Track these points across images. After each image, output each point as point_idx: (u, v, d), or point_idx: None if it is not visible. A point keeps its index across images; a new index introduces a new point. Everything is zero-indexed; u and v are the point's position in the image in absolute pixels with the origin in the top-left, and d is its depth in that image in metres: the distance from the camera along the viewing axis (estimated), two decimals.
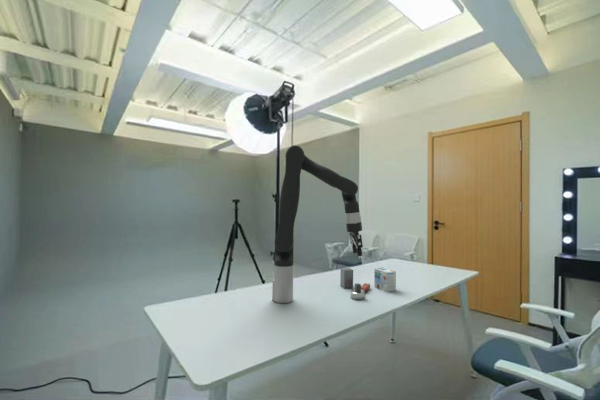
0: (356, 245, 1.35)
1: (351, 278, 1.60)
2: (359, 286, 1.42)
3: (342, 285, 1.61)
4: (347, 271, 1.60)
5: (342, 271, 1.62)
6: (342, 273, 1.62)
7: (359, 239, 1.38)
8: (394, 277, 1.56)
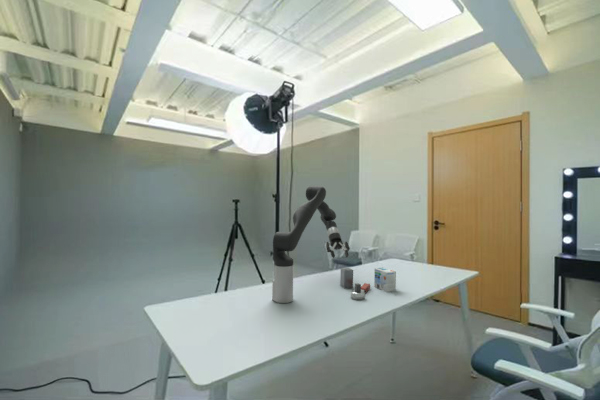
0: (346, 248, 1.76)
1: (351, 278, 1.60)
2: (359, 286, 1.42)
3: (342, 285, 1.61)
4: (347, 271, 1.60)
5: (342, 271, 1.62)
6: (342, 273, 1.62)
7: None
8: (394, 277, 1.56)
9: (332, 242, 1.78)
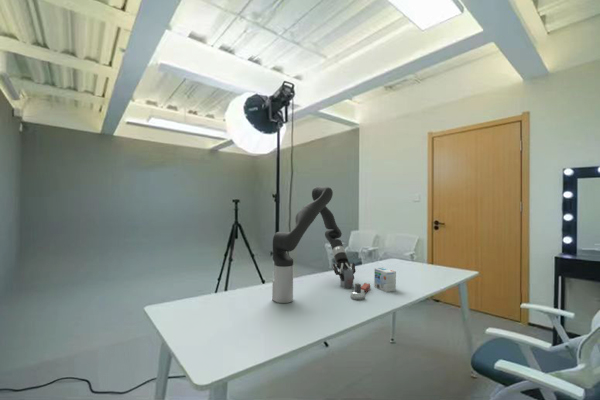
0: None
1: (351, 278, 1.60)
2: (359, 286, 1.42)
3: (342, 285, 1.61)
4: (347, 271, 1.60)
5: (342, 271, 1.62)
6: (342, 273, 1.62)
7: None
8: (394, 277, 1.56)
9: (338, 263, 1.67)
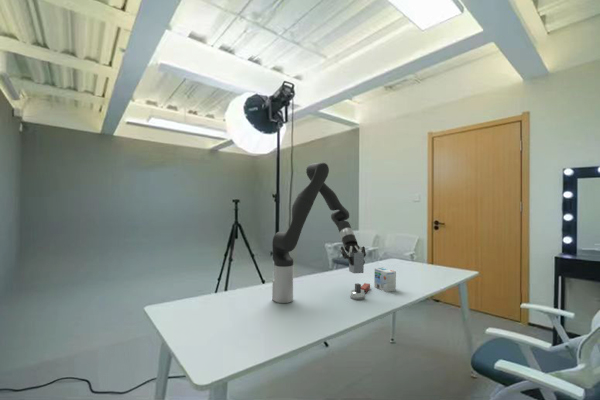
0: None
1: (361, 262, 1.43)
2: (359, 286, 1.42)
3: (352, 270, 1.44)
4: (357, 254, 1.43)
5: (351, 254, 1.45)
6: (351, 256, 1.45)
7: None
8: (394, 277, 1.56)
9: (346, 246, 1.50)
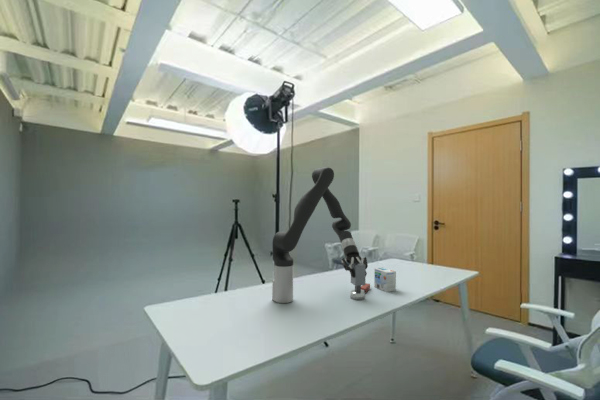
0: None
1: (363, 274, 1.41)
2: (359, 286, 1.42)
3: (353, 282, 1.42)
4: (359, 266, 1.40)
5: (353, 266, 1.43)
6: (353, 268, 1.43)
7: None
8: (394, 277, 1.56)
9: (348, 257, 1.47)
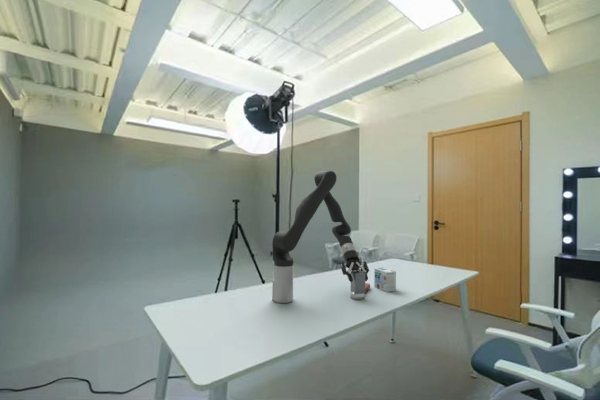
0: (365, 269, 1.46)
1: (363, 282, 1.41)
2: None
3: (353, 291, 1.42)
4: (358, 274, 1.40)
5: (353, 274, 1.42)
6: (353, 277, 1.42)
7: None
8: (394, 277, 1.56)
9: (348, 262, 1.47)
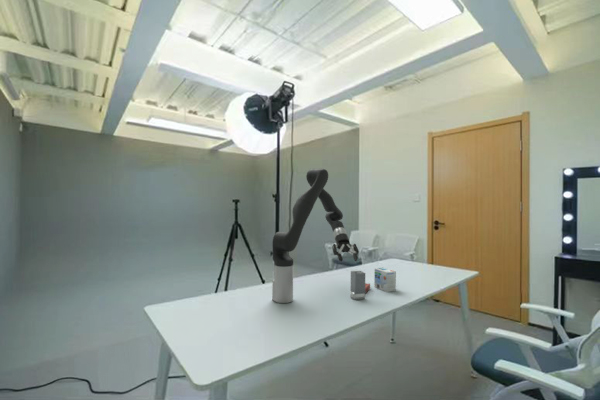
0: (355, 251, 1.58)
1: (363, 282, 1.41)
2: None
3: (353, 291, 1.42)
4: (358, 274, 1.40)
5: (353, 274, 1.42)
6: (353, 277, 1.42)
7: None
8: (394, 277, 1.56)
9: (339, 244, 1.59)
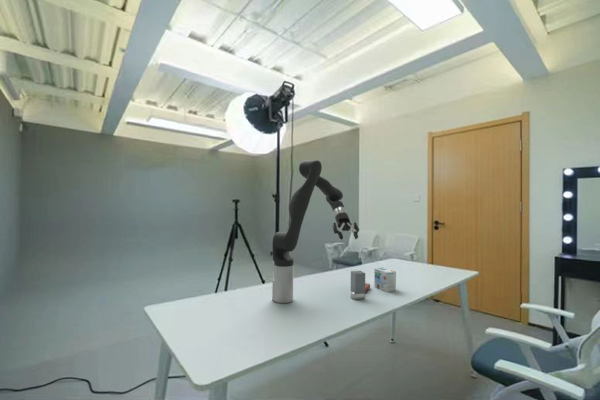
0: (355, 229, 1.58)
1: (363, 282, 1.41)
2: None
3: (353, 291, 1.42)
4: (358, 274, 1.40)
5: (353, 274, 1.42)
6: (353, 277, 1.42)
7: None
8: (394, 277, 1.56)
9: (339, 223, 1.59)
